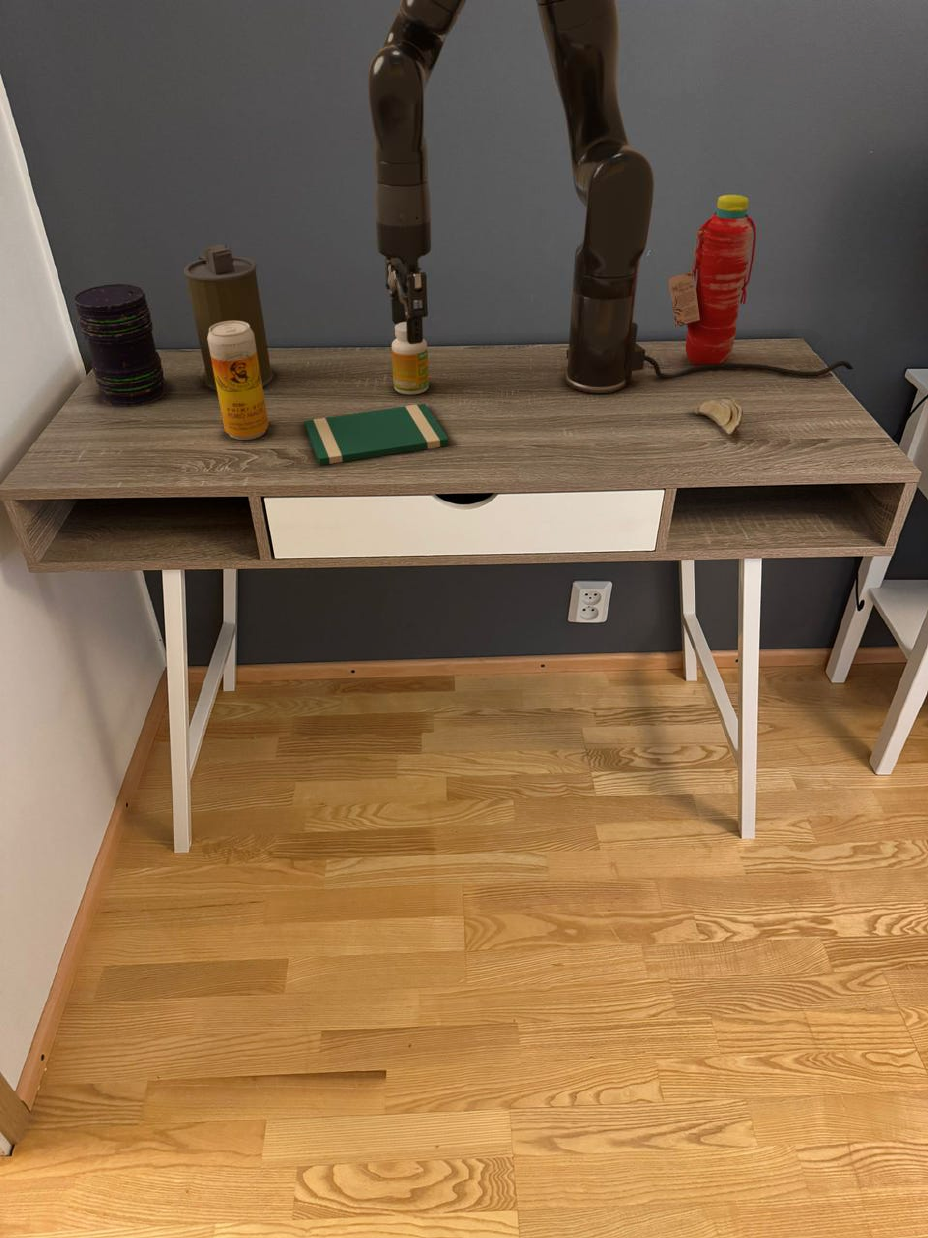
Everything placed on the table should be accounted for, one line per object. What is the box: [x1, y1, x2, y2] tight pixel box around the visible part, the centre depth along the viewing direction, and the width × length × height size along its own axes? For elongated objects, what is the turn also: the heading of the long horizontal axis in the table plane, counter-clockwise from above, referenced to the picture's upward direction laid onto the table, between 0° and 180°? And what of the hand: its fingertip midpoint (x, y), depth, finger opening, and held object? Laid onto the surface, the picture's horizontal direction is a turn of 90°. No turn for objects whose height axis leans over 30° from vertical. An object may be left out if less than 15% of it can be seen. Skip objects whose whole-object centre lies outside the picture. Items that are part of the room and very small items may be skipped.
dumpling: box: [694, 397, 744, 438], centre depth 125 cm, size 6×4×10 cm
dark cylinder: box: [73, 283, 167, 407], centre depth 131 cm, size 10×10×15 cm
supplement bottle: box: [391, 322, 430, 395], centre depth 134 cm, size 5×5×10 cm
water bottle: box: [668, 194, 757, 366], centre depth 136 cm, size 12×8×25 cm, turn 91°
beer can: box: [207, 321, 269, 441], centre depth 121 cm, size 6×6×15 cm
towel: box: [303, 403, 450, 466], centre depth 124 cm, size 18×12×1 cm, turn 108°
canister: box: [183, 243, 274, 392], centre depth 134 cm, size 11×10×20 cm
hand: (407, 332), depth 131 cm, fingers open, 8 cm apart
